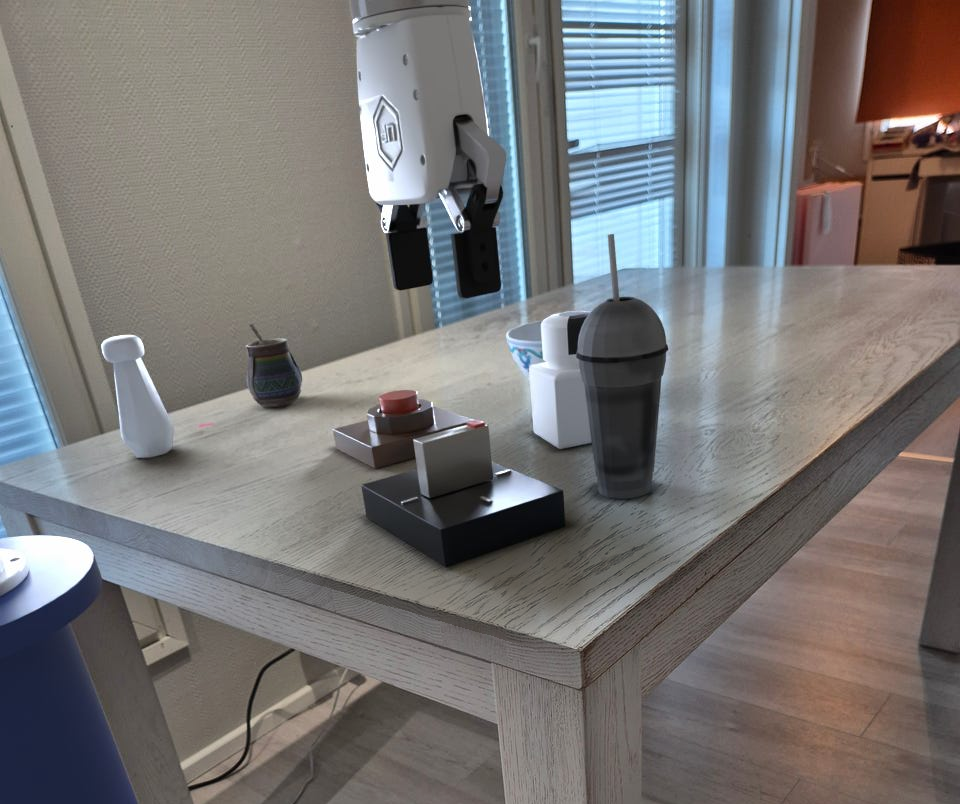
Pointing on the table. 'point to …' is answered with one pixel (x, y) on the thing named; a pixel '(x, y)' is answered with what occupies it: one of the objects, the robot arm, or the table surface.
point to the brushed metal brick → (453, 459)
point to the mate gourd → (272, 372)
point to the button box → (393, 433)
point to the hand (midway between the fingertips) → (445, 290)
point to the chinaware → (526, 345)
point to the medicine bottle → (560, 384)
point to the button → (399, 402)
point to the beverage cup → (622, 388)
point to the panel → (465, 513)
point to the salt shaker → (138, 399)
